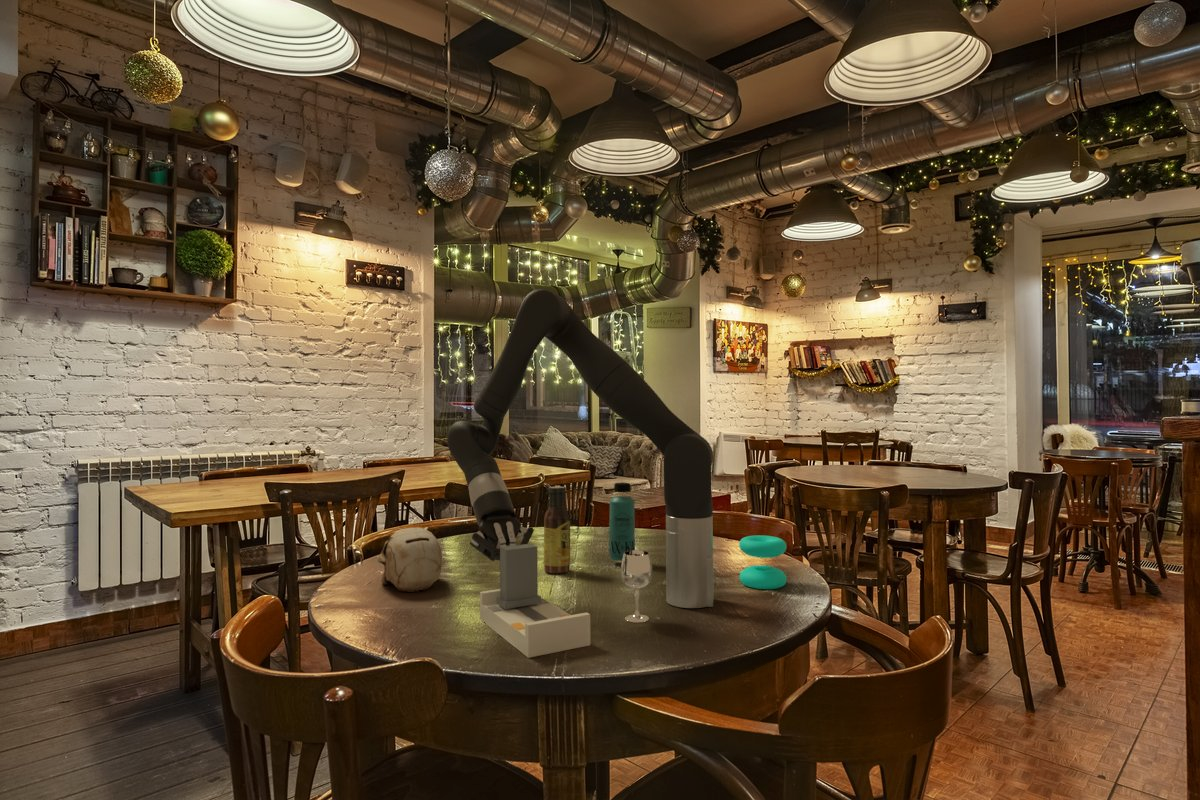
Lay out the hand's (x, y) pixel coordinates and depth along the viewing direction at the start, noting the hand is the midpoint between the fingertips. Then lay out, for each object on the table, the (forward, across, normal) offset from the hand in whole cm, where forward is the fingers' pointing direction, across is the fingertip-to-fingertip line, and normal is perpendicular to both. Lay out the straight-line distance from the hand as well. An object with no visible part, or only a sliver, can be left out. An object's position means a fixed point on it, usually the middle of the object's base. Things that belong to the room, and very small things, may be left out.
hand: (514, 575), depth 125 cm
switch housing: (+11, 0, 0) cm, 11 cm away
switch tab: (+5, 0, +2) cm, 5 cm away
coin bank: (-19, -11, +30) cm, 37 cm away
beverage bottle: (-13, +39, +25) cm, 48 cm away
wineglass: (+14, +19, -2) cm, 24 cm away
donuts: (+9, +56, +2) cm, 57 cm away
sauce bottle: (-14, +22, +26) cm, 37 cm away
